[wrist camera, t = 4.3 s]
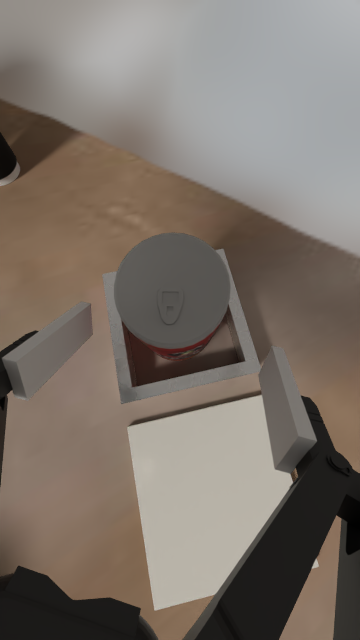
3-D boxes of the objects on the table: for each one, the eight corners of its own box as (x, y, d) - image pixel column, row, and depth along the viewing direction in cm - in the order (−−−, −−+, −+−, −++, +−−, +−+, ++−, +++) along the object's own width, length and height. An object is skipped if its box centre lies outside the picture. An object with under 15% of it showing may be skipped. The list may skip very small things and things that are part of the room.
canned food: (151, 369, 24) (124, 361, 13) (137, 300, 26) (102, 245, 15) (221, 351, 24) (249, 329, 13) (201, 285, 26) (211, 220, 15)
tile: (128, 425, 22) (127, 427, 22) (263, 393, 23) (265, 394, 22) (155, 603, 19) (154, 610, 18) (314, 560, 19) (318, 566, 18)
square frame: (110, 284, 26) (102, 274, 24) (219, 260, 27) (223, 248, 24) (128, 401, 23) (121, 404, 20) (253, 371, 23) (261, 371, 21)
